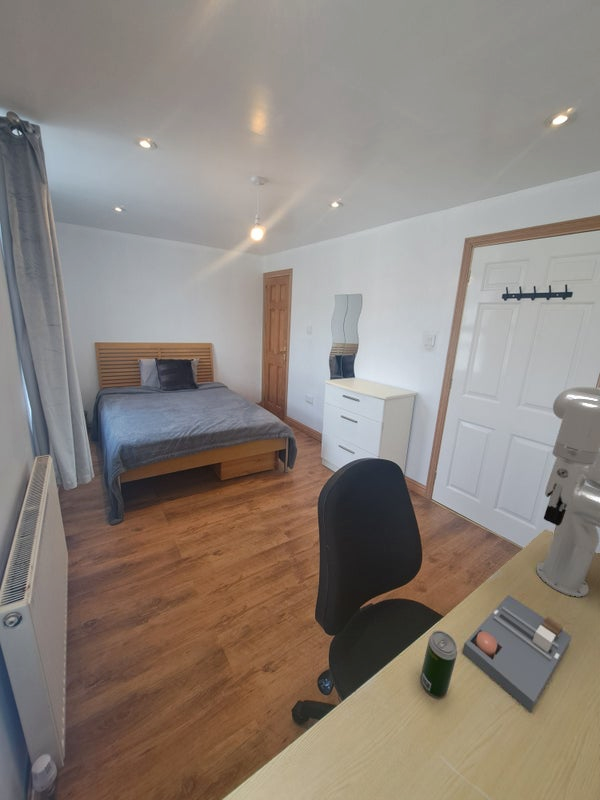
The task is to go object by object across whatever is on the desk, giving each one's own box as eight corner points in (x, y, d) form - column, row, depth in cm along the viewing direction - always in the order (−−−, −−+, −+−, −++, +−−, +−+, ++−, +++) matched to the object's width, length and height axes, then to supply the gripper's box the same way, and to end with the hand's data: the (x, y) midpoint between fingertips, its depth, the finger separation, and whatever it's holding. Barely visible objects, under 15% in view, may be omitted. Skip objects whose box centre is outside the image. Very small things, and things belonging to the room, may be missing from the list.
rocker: (546, 619, 80) (547, 616, 80) (561, 629, 78) (563, 626, 78) (540, 626, 77) (541, 623, 77) (556, 637, 75) (557, 633, 75)
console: (506, 603, 89) (509, 592, 88) (568, 645, 78) (572, 634, 77) (462, 652, 75) (465, 640, 74) (530, 712, 64) (535, 699, 63)
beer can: (436, 705, 64) (448, 661, 61) (414, 679, 68) (424, 637, 65) (452, 689, 67) (463, 646, 64) (429, 666, 71) (439, 624, 68)
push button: (479, 639, 77) (482, 628, 76) (496, 653, 74) (500, 642, 73) (471, 648, 75) (474, 637, 74) (488, 663, 72) (492, 652, 71)
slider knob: (536, 635, 76) (540, 624, 75) (551, 645, 74) (555, 635, 73) (532, 642, 75) (535, 631, 74) (547, 653, 72) (551, 642, 71)
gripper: (586, 467, 65) (560, 542, 70) (604, 452, 74) (580, 519, 79) (543, 453, 71) (522, 523, 76) (564, 440, 80) (545, 504, 85)
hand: (552, 521), depth 78 cm, fingers closed
